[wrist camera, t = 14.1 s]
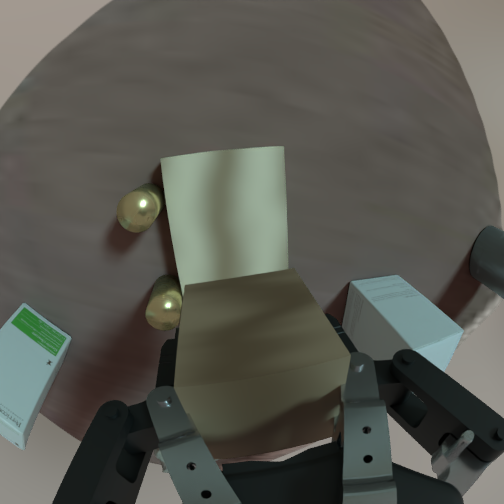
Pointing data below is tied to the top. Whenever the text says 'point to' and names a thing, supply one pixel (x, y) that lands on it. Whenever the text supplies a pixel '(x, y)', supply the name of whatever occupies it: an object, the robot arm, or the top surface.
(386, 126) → the top surface
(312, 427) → the walnut block
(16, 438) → the skincare box
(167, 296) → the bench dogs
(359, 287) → the supplement box
